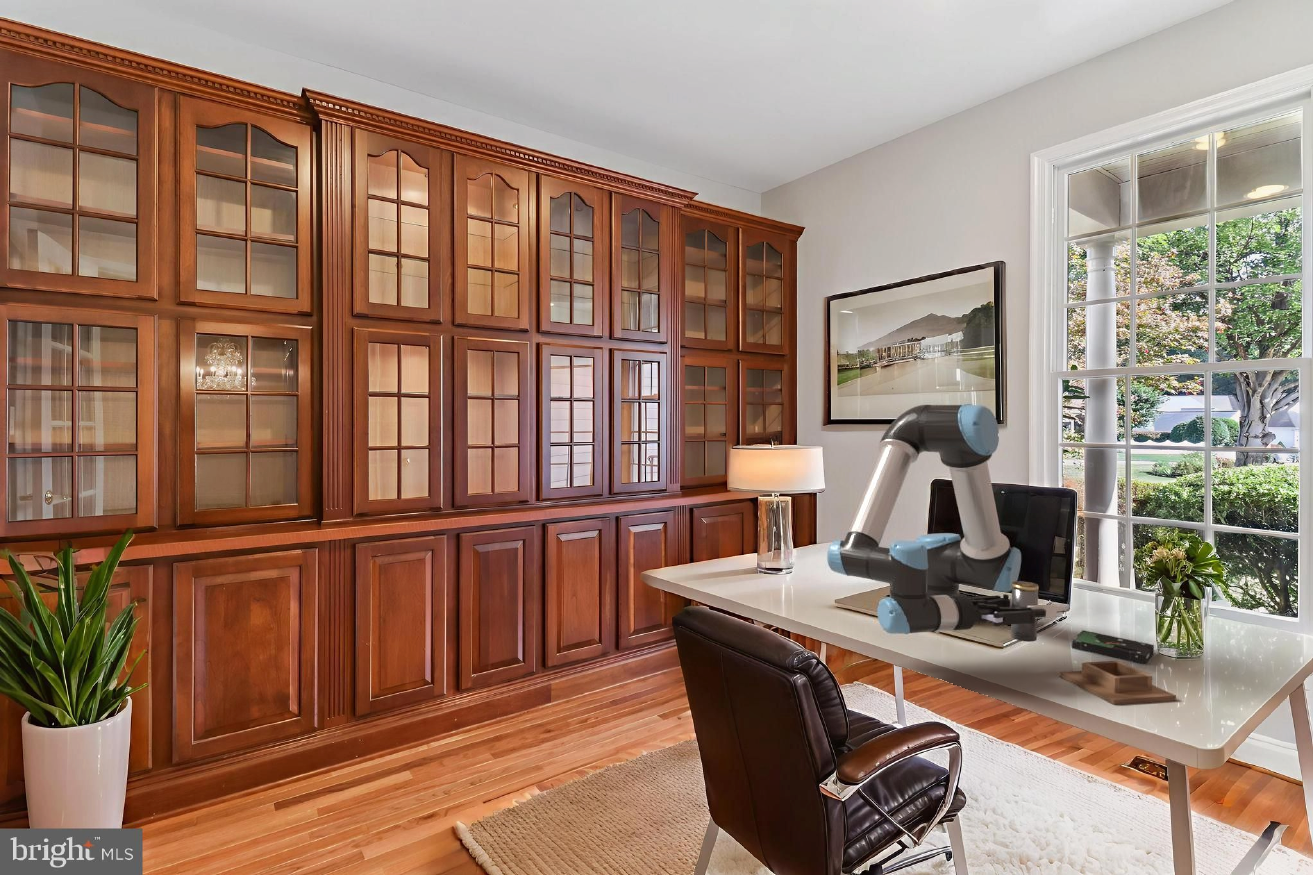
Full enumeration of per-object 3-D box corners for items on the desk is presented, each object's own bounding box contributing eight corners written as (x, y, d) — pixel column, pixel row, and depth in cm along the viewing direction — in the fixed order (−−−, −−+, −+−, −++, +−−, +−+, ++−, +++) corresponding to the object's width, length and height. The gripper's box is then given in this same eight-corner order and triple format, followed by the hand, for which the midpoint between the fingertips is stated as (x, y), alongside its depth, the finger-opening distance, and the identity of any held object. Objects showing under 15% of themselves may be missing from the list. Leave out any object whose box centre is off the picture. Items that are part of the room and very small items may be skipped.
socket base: (1060, 676, 145) (1060, 658, 145) (1117, 673, 147) (1117, 655, 147) (1113, 704, 131) (1114, 684, 131) (1175, 700, 133) (1176, 680, 133)
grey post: (1005, 634, 151) (1006, 581, 150) (1026, 632, 151) (1027, 580, 151) (1021, 642, 145) (1022, 588, 145) (1042, 640, 146) (1044, 586, 146)
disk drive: (1153, 656, 159) (1081, 639, 170) (1154, 644, 159) (1082, 629, 170) (1145, 667, 152) (1071, 650, 162) (1146, 655, 152) (1071, 638, 162)
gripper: (926, 616, 154) (1017, 610, 158) (975, 644, 137) (1076, 637, 140) (927, 584, 154) (1018, 579, 158) (975, 608, 136) (1077, 602, 140)
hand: (1045, 606), depth 149 cm, fingers closed on grey post, 5 cm apart
